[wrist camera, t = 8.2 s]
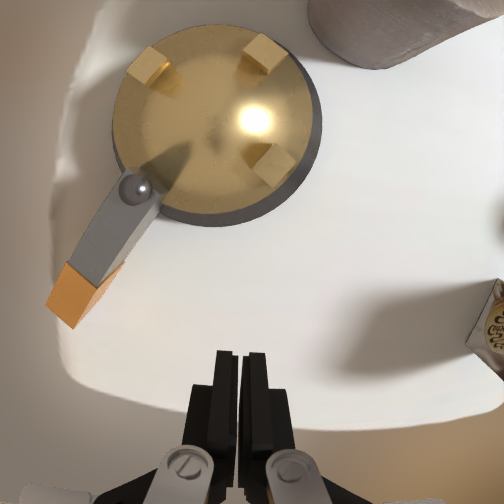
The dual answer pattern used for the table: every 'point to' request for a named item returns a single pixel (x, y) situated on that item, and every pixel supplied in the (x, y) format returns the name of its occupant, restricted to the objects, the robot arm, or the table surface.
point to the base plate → (276, 196)
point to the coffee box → (491, 331)
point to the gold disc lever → (190, 145)
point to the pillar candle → (393, 26)
